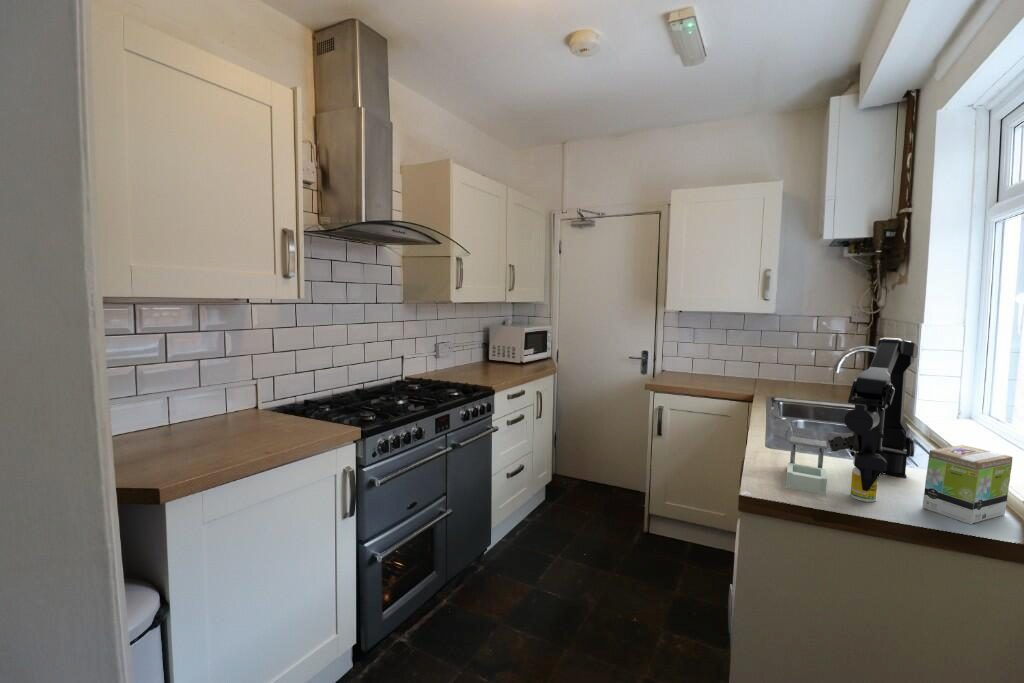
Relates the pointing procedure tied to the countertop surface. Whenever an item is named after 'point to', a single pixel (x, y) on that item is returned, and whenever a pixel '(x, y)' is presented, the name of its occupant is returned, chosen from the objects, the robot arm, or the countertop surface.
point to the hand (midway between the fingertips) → (863, 486)
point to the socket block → (806, 478)
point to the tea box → (967, 483)
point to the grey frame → (809, 443)
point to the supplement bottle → (857, 488)
